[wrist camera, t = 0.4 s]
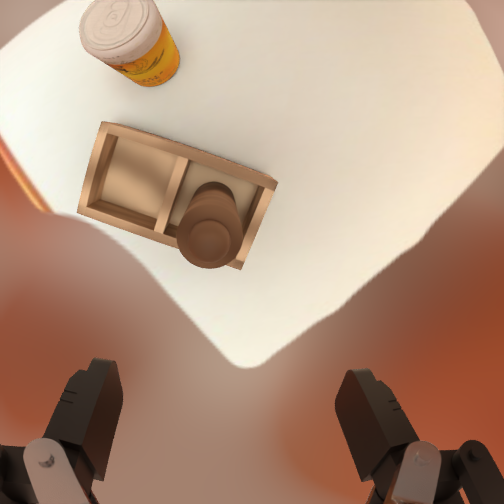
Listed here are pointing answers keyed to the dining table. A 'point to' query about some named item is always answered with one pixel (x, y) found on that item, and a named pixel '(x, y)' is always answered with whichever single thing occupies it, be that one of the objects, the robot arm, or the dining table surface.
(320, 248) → the dining table surface
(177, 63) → the beer can
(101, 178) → the caddy
